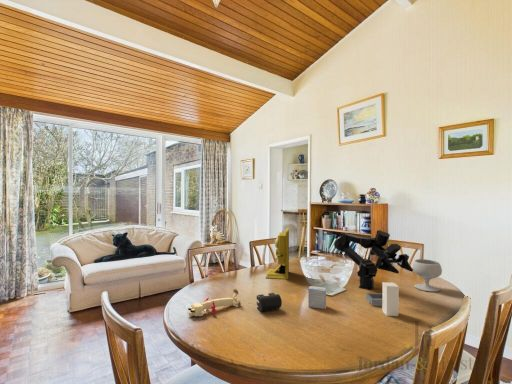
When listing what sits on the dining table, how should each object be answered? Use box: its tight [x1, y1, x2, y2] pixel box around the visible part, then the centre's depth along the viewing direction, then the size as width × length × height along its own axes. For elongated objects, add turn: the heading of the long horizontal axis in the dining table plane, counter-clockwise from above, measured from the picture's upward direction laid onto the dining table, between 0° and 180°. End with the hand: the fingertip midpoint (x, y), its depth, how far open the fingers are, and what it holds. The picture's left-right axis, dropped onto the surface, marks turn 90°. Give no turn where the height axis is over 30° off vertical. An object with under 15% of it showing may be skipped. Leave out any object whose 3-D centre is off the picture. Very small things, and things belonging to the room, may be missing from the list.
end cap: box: [256, 292, 283, 313], centre depth 128 cm, size 10×7×7 cm
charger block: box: [381, 281, 400, 317], centre depth 125 cm, size 5×5×13 cm
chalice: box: [412, 258, 443, 293], centre depth 157 cm, size 14×14×15 cm
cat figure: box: [186, 288, 242, 317], centre depth 127 cm, size 10×9×25 cm
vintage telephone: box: [265, 227, 290, 281], centre depth 182 cm, size 31×14×30 cm, turn 172°
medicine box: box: [307, 285, 327, 310], centre depth 132 cm, size 8×4×9 cm, turn 71°
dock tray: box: [365, 292, 382, 307], centre depth 137 cm, size 9×9×3 cm
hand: (405, 271), depth 135 cm, fingers open, 9 cm apart
